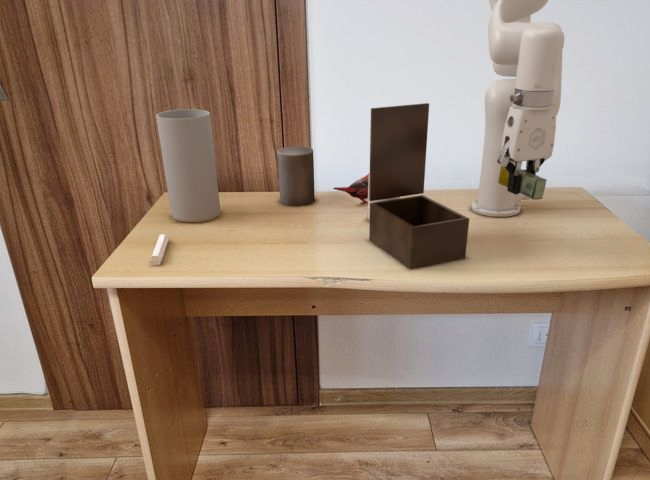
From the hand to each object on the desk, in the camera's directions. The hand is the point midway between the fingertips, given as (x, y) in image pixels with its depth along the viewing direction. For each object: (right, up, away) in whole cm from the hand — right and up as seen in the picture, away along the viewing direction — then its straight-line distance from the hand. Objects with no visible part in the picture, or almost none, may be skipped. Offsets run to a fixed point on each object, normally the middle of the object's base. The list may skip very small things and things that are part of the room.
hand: (519, 190), depth 130 cm
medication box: (0, 0, 0) cm, 0 cm away
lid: (-25, +10, +6) cm, 27 cm away
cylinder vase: (-75, +1, +30) cm, 81 cm away
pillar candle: (-50, +7, +40) cm, 64 cm away
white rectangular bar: (-78, -12, +9) cm, 79 cm away
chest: (-21, -11, +9) cm, 25 cm away
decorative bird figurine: (-32, +5, +37) cm, 49 cm away
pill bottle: (-27, -1, +26) cm, 38 cm away
